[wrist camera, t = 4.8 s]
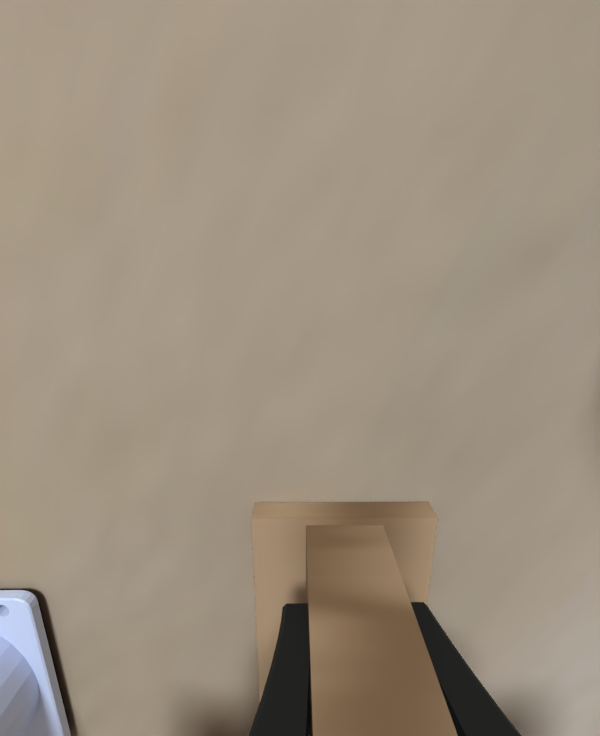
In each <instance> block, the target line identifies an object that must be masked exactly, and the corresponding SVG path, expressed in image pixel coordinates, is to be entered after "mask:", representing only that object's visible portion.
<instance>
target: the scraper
mask: <svg viewBox="0 0 600 736" xmlns="http://www.w3.org/2000/svg"><path fill="white" fill-rule="evenodd" d="M437 523H438V517H437V516H436V514H435V512H434V511H433V509H432V507H431V506H430V504H429V502H344V503H255V504H254V509H253V514H252V541H253V564H254V588H255V611H256V634H257V657H258V680H259V703H260V701H261V698H262V694H263V691H264V688H265V684H266V681H267V677H268V674H269V670H270V667H271V663H272V660H273V656H274V652H275V648H276V643H277V639H278V634H279V629H280V623H281V617H282V608H283V606H284V605H286V604H288V603H308V620H309V645H310V678H309V736H458V735H457V732H456V729H455V726H454V724H453V721H452V718H451V715H450V712H449V709H448V707H447V704H446V701H445V698H444V695H443V692H442V690H441V687H440V684H439V681H438V678H437V675H436V673H435V670H434V667H433V664H432V661H431V659H430V656H429V653H428V650H427V647H426V644H425V642H424V639H423V636H422V633H421V630H420V627H419V625H418V622H417V619H416V616H415V613H414V610H413V608H412V605H411V602H424V603H425V604H426V605H428V596H429V588H430V580H431V572H432V564H433V555H434V547H435V539H436V531H437Z"/></svg>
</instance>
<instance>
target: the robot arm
mask: <svg viewBox="0 0 600 736" xmlns="http://www.w3.org/2000/svg"><path fill="white" fill-rule="evenodd" d="M411 605H412V608H413V610H414V613H415V616H416V619H417V622H418V625H419V627H420V630H421V633H422V636H423V639H424V642H425V644H426V647H427V650H428V653H429V656H430V659H431V661H432V664H433V667H434V670H435V673H436V675H437V678H438V681H439V684H440V687H441V690H442V692H443V695H444V698H445V701H446V704H447V707H448V709H449V712H450V715H451V718H452V721H453V724H454V726H455V729H456V732H457V735H458V736H521V735H520V734H519V732H518V731H517V730H516V729H515V727H514V726H513V725H512V724H511V722H510V721H509V720H508V718H507V717H506V716H505V715H504V713H503V712H502V711H501V709H500V708H499V707H498V705H497V704H496V703H495V701H494V700H493V699H492V697H491V696H490V695H489V693H488V692H487V691H486V689H485V688H484V687H483V685H482V684H481V683H480V681H479V680H478V679H477V677H476V676H475V675H474V673H473V672H472V670H471V669H470V668H469V666H468V665H467V664H466V662H465V661H464V659H463V658H462V656H461V655H460V654H459V652H458V651H457V649H456V648H455V647H454V645H453V644H452V642H451V641H450V639H449V638H448V636H447V635H446V633H445V632H444V631H443V629H442V628H441V626H440V625H439V623H438V622H437V620H436V619H435V617H434V616H433V614H432V613H431V611H430V609H429V608H428V606H427V605H426V604H425V603H424V602H411ZM309 678H310V645H309V620H308V603H288V604H286V605H284V606H283V608H282V617H281V623H280V629H279V634H278V639H277V643H276V648H275V652H274V656H273V660H272V663H271V667H270V670H269V674H268V677H267V681H266V684H265V688H264V691H263V694H262V698H261V701H260V704H259V707H258V711H257V714H256V716H255V719H254V722H253V725H252V728H251V731H250V734H249V736H309ZM0 736H71V734H70V730H69V726H68V721H67V717H66V713H65V709H64V705H63V701H62V697H61V693H60V689H59V685H58V681H57V677H56V673H55V669H54V665H53V661H52V657H51V653H50V649H49V645H48V640H47V636H46V632H45V628H44V624H43V620H42V616H41V612H40V608H39V604H38V600H37V598H36V596H35V595H34V594H33V593H31V592H29V591H26V590H0Z"/></svg>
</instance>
